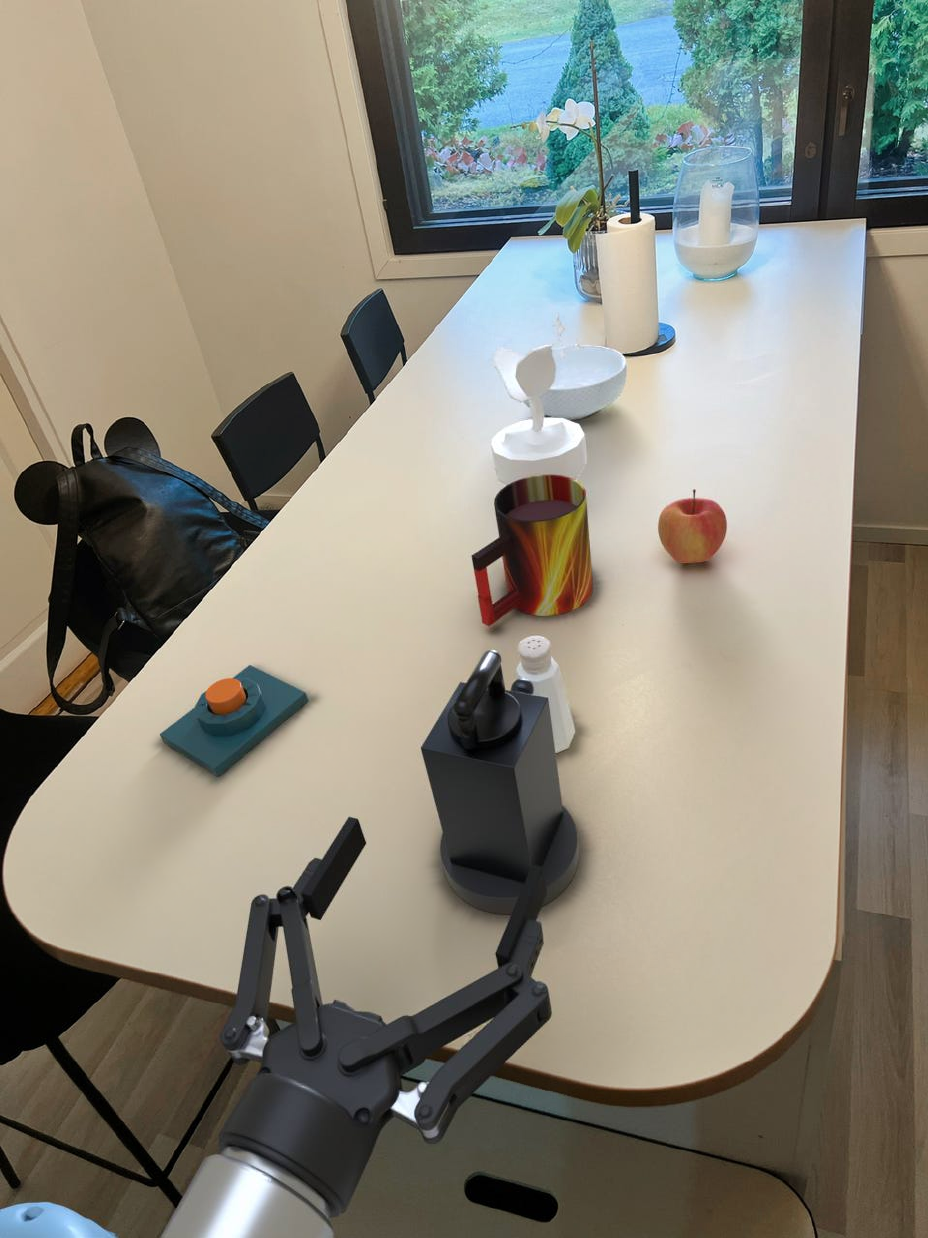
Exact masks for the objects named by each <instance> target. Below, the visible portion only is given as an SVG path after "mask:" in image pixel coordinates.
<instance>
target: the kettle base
mask: <svg viewBox="0 0 928 1238" xmlns="http://www.w3.org/2000/svg"><path fill="white" fill-rule="evenodd" d="M562 808H563V817H562V820H561V822H560V824H559V827H558V829H557V832H556V834H555V837H554V839H553V841H552V844H551V846H550V849H549V851H548V853H547V856H546V858H545V861H544V863H543V866H542V867H543V868H544V875H545V881H546V888H547V894H546V897H545V899H544V902H543V904H542V907H544V906H546V905H547V904H550V903H552V901H554V900H555V899H557V898H558V897H559V896H560V895H561V894H562V893H563V892H564V891H565V890H566V889H567V887H568V886H569V885H570V884H571V882H572V880H573V879H574V877H575V875H576V872H577V870H578V865H579V862H580V845H579V836H578V835H579V834H578V829H577V826H576V823H575V820H574V818H573V816H572V815H571V813H570V812H569V810H568V809H567V808H566V807H565V806H564V805H563V804H562ZM439 850H440V858H441V862H442V866H443V870H444V873H445V876H446V880H447V881H448V883H449V886H450V888H451V889H452V890H453V891H454V892H455V894H456V895H457V896H458V897H459V898H461V900H462V901H464V902H465V903H467V904H469V905H470V906H471V907H474V908H476V909H478V910H480V911H482V912H487V913H490V914H496V915H511V914H512V912H513V909H514V907H515V905H516V902H517V900H518V897H519V895H520V893H521V890H522V888H523V886H524V883H523V882H520V881H516V880H512V879H509V878H505V877H501V876H498V875H494V874H490V873H487V872H483V871H479V870H475V869H472V868H468V867H464V866H461V865H457V864H453V863H451V862H450V858H449V854H448V850H447V847H446V843H445V839H444V835H443V832H442V833H441V838H440V845H439Z"/></svg>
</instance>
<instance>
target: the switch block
mask: <svg viewBox="0 0 928 1238" xmlns="http://www.w3.org/2000/svg"><path fill="white" fill-rule="evenodd" d="M232 678H234V679H237V680H238V681H239V682H240V683H241V685H242V688H243V690H244V692H245V695H246V702H245V704H244V705H243V706H242V707H240V708H239V709H238V710H237V711H234V712H232V713H229V714H226V715H217V714H215V713H213V712H212V710H211V708H210V706H209V704H208V702H207V699H206V696H205V695H206V691H207V690H205V691H204V692H202V693H201V694H200V696H199V698H198V700H197V702H196V703H195V705H194V707H193V708H192V709H190V710H189V711H188V712H187V713H185V714H184V715H182V716H181V717H180V718H179V719H177V720H176V721H174V722H173V723H172V724H171V725H170V726H168V727H167V728H165V730H163V731H162V732H161V733H159V736H160V739H161V740H162V742H163V743H164V744H166V745H167V746H169V747H170V748H171V749H173V750H174V751H176V752H178V753H180V754H181V755H182V756H184V757H186V758H188V759H190V760H191V761H192V762H194V763H196V764H197V765H199V766H200V767H202V768H203V769H205V770H207V772H209V773H211V774H212V775H214V776H216V777H218V778H219V777H220V776H221V775H223V774H224V773H225V772H226V771H227V770H228V769H229V768H230V767H232V766H233V765H234V764H235V763H237V762H238V761H239V760H240V759H241V758H243V757H244V756H245V755H246V754H247V753H248V752H249V751H251V750H252V749H254V748H255V747H256V746H257V745H258V744H259V743H261V741H263V740H264V739H266V738H267V737H268V736H269V735H270V734H271V733H272V732H274V730H276V729H277V728H278V727H279V726H280V725H282V724H283V723H284V722H285V721H286V720H287V719H289V718H290V717H292V716H293V715H294V714H295V713H296V712H297V711H298V710H300V709H301V708H302V707H303V706H304V705H305V704H307V703H308V702H309V697H308V696H307V693H306V692H305V691H303V690H301V689H300V688H297V687H295V686H294V685H291V684H290V683H288V682H285V681H284V680H282V679H280V678H277V677H275V676H274V675H272V674H270V673H267V672H266V671H263V670H261V669H259V668H257V667H255V666H253V665H251V664H249V665H247V666H246V667H245V668H244V669H242V670H241V671H239V673H237V674H236V675H234V676H232Z"/></svg>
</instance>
